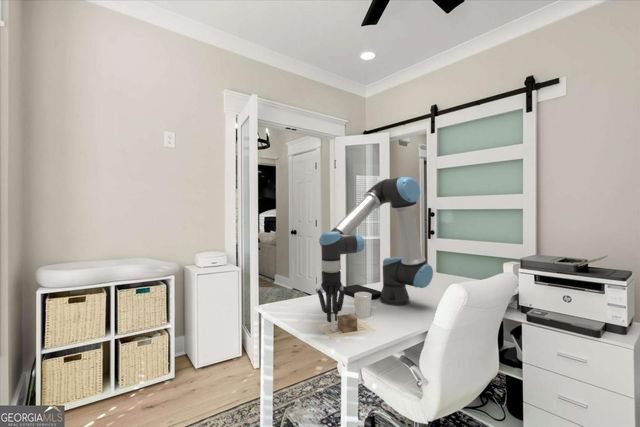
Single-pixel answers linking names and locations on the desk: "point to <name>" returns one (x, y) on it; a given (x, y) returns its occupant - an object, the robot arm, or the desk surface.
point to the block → (347, 323)
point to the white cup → (363, 304)
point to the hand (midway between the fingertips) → (332, 329)
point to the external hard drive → (358, 288)
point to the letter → (337, 332)
